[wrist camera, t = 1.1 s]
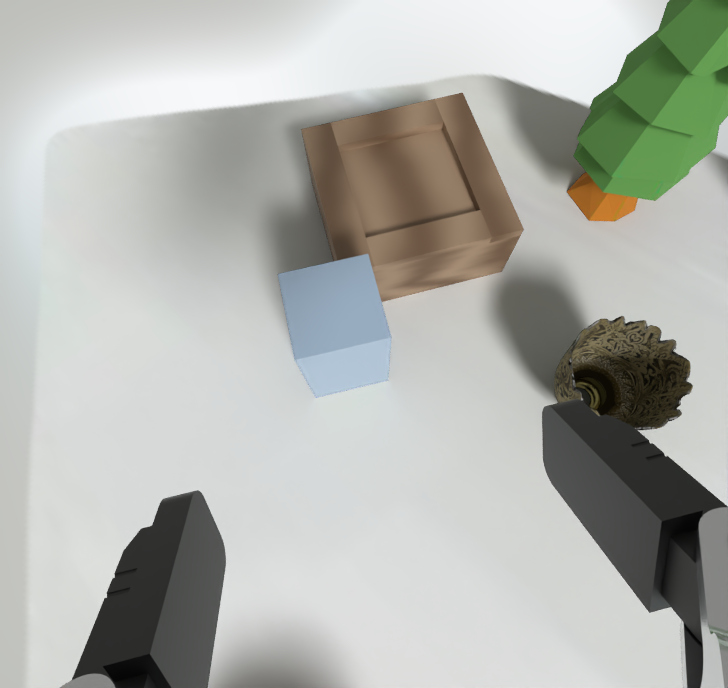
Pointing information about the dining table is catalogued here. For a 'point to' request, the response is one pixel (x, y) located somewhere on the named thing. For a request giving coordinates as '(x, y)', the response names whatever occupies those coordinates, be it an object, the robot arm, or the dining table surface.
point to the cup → (625, 373)
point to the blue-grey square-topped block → (337, 325)
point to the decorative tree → (656, 112)
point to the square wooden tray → (413, 195)
